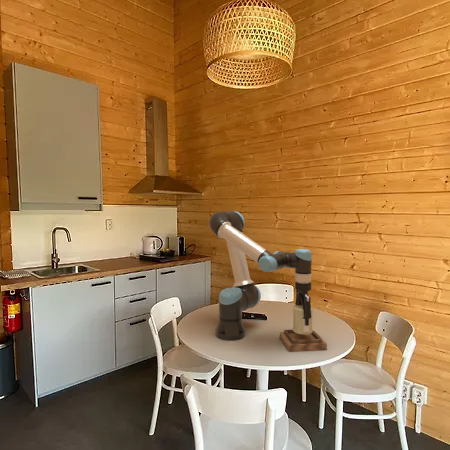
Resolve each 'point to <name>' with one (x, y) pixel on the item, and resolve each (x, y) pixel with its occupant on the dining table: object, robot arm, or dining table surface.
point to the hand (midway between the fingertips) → (302, 328)
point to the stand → (302, 341)
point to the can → (300, 320)
